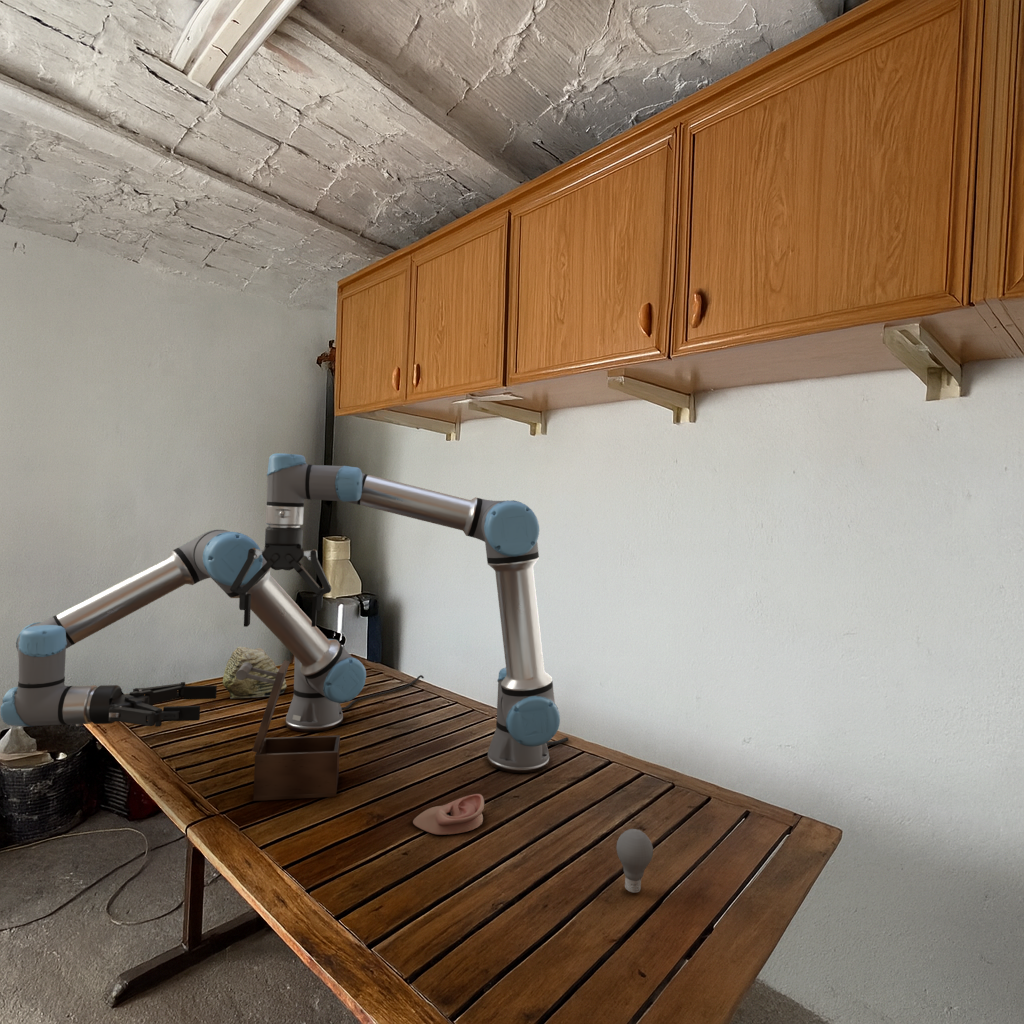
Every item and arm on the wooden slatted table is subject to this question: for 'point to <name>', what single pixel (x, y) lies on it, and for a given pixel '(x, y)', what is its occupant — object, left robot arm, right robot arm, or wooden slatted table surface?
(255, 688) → the fossil
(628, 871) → the light bulb
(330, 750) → the chest
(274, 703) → the lid
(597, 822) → the wooden slatted table surface
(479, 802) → the anatomical model
